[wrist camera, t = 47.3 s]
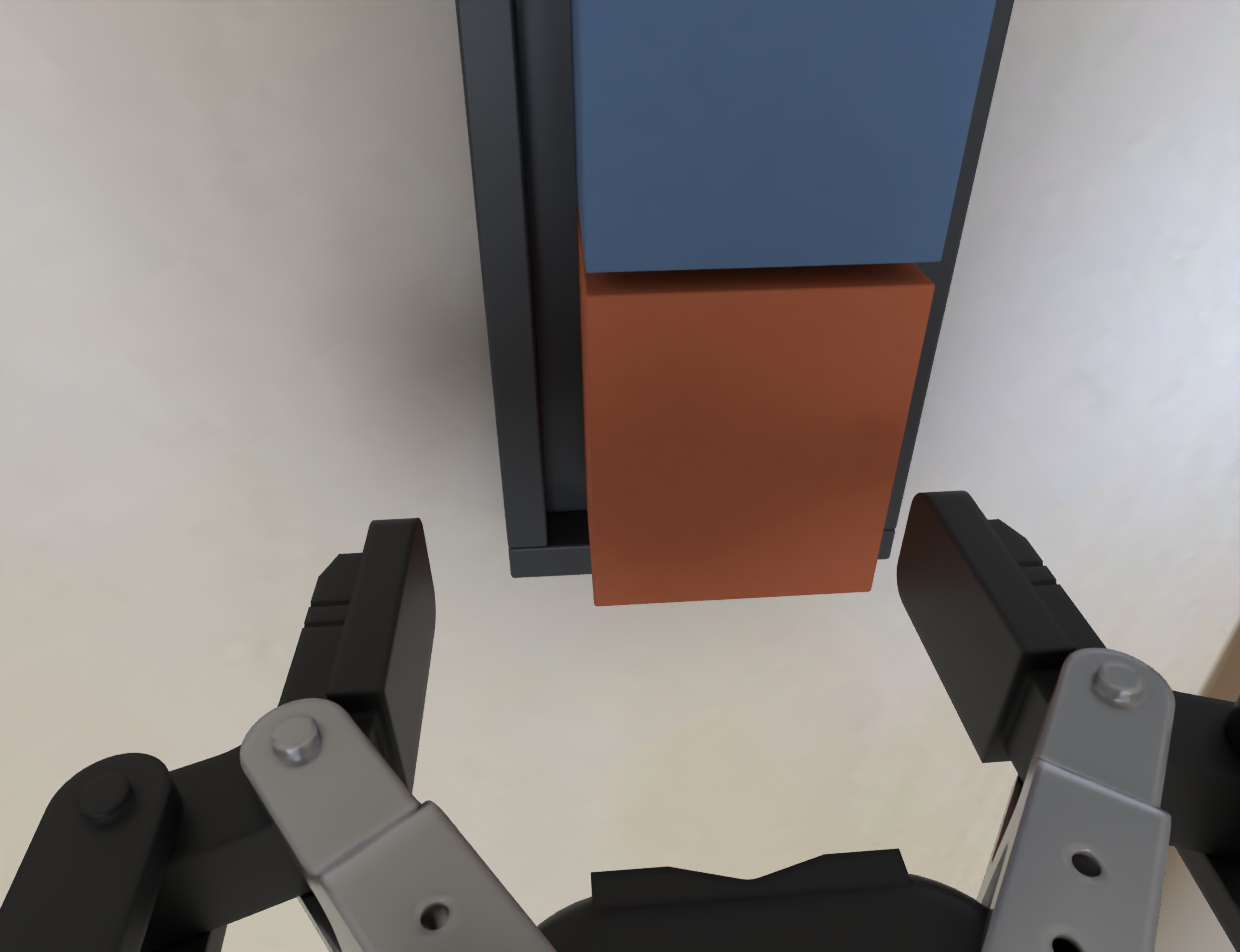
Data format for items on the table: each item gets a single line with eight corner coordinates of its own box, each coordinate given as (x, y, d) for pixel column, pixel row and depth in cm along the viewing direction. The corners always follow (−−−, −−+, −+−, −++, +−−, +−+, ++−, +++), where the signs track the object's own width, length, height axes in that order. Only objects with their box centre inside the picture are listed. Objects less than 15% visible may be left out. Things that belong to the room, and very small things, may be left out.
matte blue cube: (561, -241, 14) (569, -292, 10) (914, -239, 15) (1060, -289, 11) (575, 187, 18) (585, 274, 14) (853, 180, 19) (942, 263, 15)
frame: (427, -410, 14) (410, -453, 12) (1045, -399, 14) (1114, -439, 12) (513, 529, 24) (511, 579, 22) (865, 513, 25) (889, 560, 23)
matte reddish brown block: (575, 205, 18) (585, 296, 14) (850, 198, 19) (936, 284, 15) (585, 475, 22) (594, 607, 18) (811, 465, 23) (871, 592, 19)
